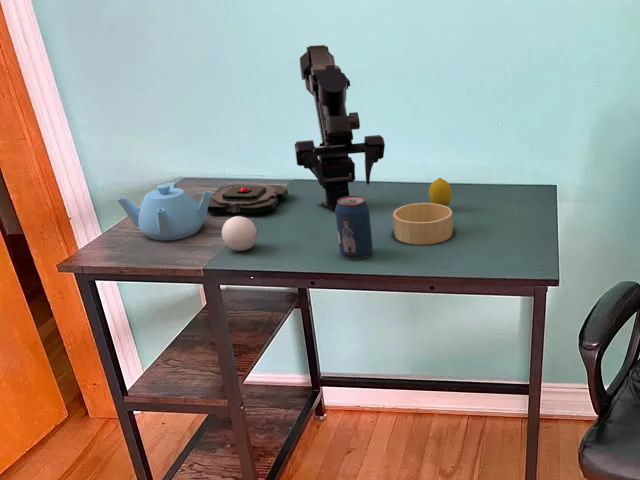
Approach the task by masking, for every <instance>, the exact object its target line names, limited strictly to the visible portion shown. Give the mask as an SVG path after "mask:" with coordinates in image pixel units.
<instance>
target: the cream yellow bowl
mask: <svg viewBox="0 0 640 480" xmlns="http://www.w3.org/2000/svg"><path fill="white" fill-rule="evenodd" d="M392 219H393V220H392V221H393V232H394V233H393V234H394V237H395V239H396V240H397V241H399V242H402V243H405V244H409V245H421V246H422V245H423V246H425V245H433V244H434V245H435V244H438V243H439V244H440V243H442V242H445V241H447V240H449V239H451V237H452V236H453V234H454V233H453V232H454V227H453V226H454V223H453V210H452V209H451V208H450V207H448V206H444V205H440V204H434V203H431V202H417V203H411V204H410V203H409V204H405V205H402V206H399V207H398V208H396V209H395V210H394V211H393V212H392Z"/></svg>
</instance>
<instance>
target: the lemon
mask: <svg viewBox="0 0 640 480" xmlns="http://www.w3.org/2000/svg"><path fill="white" fill-rule="evenodd" d="M452 196H453V192H452V187H451V185H450V183H449V182H448V181H447V180H445V179H444V178H442V177H438V178H437V179H435V180H433V181H432V182H431V183H430V185H429V189H428V199H429V201H430V203H434V204H440V205H444V206H446V207H448V206H449V205H450V204H451V201H452Z"/></svg>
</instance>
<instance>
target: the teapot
mask: <svg viewBox="0 0 640 480" xmlns="http://www.w3.org/2000/svg"><path fill="white" fill-rule="evenodd" d="M155 188H156V189H154V190H151V191H148V192H147V193H146V194H144V196H143V199H142V202H141V204H140V207H139V208H138V207H136V205H135V204H133V202H132V201H130V200H128V198H127V197H120V198H118V199H117V202H118V203H119V205H120V206H121V208H122V209H123V211H125V213H126V215H127V216H128V217H129V219H130V220H131V222H132V223H133V225H134V226H135V227H137V228H138V229H139V230H140V232H141V233H142V234H143V235H145V236H146V237H148V238H149V239H151V240H155V241H175V240H180V239H185V238H189V237H191V236H194V235H196V234H197V233H198V232H199V231H200V229H201V228H202V226H203V224H204V222H205V220H206V217H207V213H208V211H207V209H208V205H209V201H210V197H212V191H211V190H208V191H207V190H206V191H203V194H202V197H201V201H200V203H199V205H198V203H197V202H196V201H195V200H194V199H193V198H192V197H191V195H189V194H188V193H187V192H186V191H185V190H184V189H182V188H179V187H177V184H176V182H166V183H165V184H159V185H157V186H156V187H155Z"/></svg>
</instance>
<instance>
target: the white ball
mask: <svg viewBox="0 0 640 480" xmlns="http://www.w3.org/2000/svg"><path fill="white" fill-rule="evenodd" d="M258 233H259V230H258V228H257V226H256V225H255V224H254V222H253V221H252V220H251V219H249V218H247V217H244V216H239V215H237V216H232V217H231V218H228V219H227V220H226V221H225V222H224V224H223V226H222V229H221V238H222V240H223V242H224V243H225V244H226V246H227V247H229V248H230V249H232V250H233V251H239V252H244V251H247V250H249V249H251V248H252V247H253V246H254V245H255V244H256V242H257V240H258Z"/></svg>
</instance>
